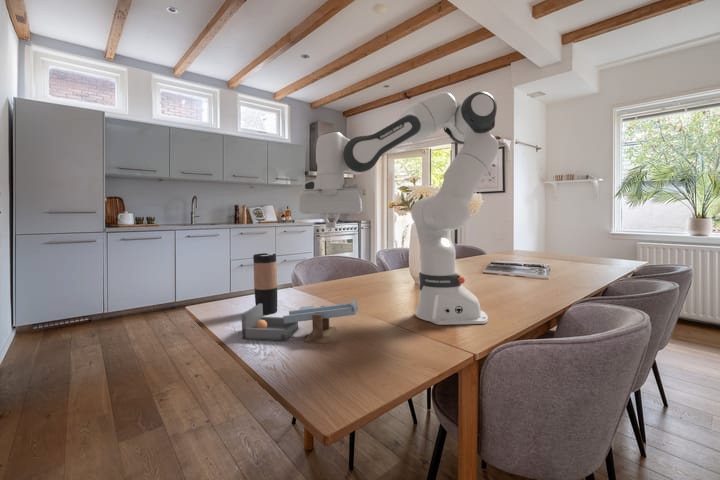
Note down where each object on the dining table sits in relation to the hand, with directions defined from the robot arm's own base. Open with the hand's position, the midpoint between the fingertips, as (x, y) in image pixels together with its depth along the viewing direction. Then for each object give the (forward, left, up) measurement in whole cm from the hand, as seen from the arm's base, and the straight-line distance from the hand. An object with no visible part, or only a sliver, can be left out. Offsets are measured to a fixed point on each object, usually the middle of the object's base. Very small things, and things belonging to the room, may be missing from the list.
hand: (331, 227), depth 112 cm
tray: (+14, +18, -29) cm, 37 cm away
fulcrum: (-1, +18, -29) cm, 34 cm away
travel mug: (+24, -2, -29) cm, 38 cm away
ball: (+17, +18, -27) cm, 36 cm away
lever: (-1, +15, -24) cm, 28 cm away
